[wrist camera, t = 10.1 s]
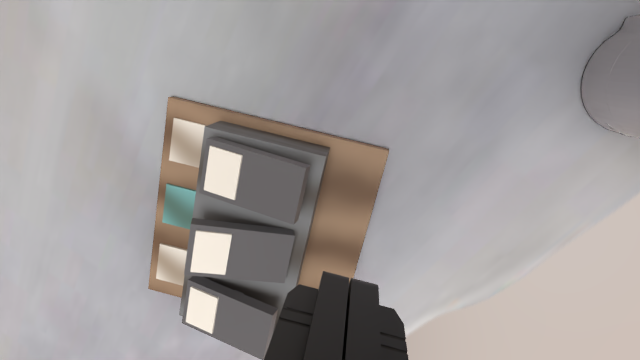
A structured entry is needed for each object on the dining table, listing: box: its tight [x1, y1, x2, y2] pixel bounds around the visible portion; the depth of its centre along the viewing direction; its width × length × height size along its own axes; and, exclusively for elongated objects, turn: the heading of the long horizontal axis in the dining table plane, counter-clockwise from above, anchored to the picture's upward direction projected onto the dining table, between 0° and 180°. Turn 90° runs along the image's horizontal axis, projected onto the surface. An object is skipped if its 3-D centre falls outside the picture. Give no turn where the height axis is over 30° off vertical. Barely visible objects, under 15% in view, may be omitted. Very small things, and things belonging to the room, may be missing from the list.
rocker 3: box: [182, 276, 278, 360], centre depth 38 cm, size 5×9×2 cm, turn 77°
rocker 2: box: [184, 218, 295, 283], centre depth 36 cm, size 5×9×2 cm, turn 77°
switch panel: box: [148, 97, 389, 333], centre depth 40 cm, size 22×22×5 cm
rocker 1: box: [199, 136, 311, 225], centre depth 34 cm, size 5×9×2 cm, turn 77°
